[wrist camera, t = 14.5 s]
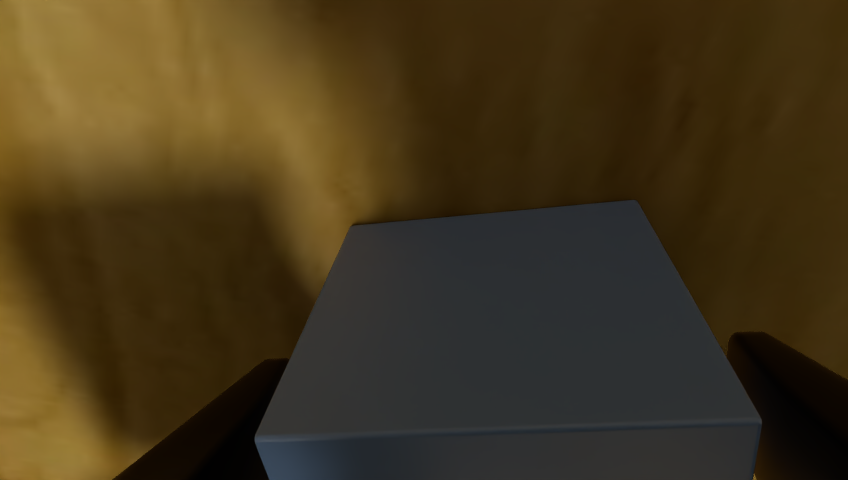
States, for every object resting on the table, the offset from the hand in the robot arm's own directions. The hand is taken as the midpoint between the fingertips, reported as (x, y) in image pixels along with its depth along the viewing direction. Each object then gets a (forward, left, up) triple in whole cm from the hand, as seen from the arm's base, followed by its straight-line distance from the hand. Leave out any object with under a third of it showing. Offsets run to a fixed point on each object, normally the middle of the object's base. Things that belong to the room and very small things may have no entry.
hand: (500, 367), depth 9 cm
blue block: (0, 0, -1) cm, 1 cm away
